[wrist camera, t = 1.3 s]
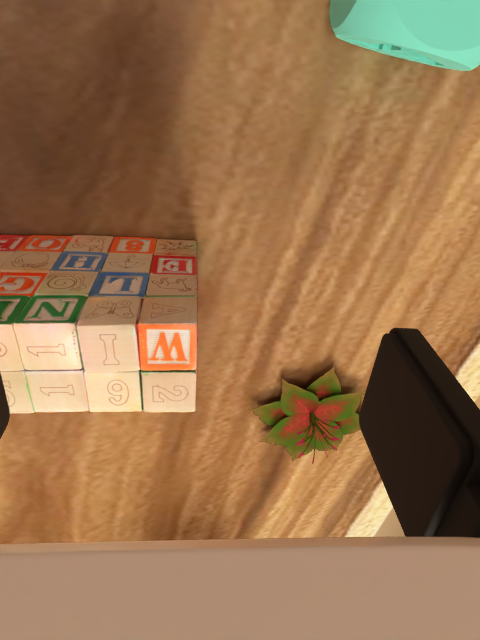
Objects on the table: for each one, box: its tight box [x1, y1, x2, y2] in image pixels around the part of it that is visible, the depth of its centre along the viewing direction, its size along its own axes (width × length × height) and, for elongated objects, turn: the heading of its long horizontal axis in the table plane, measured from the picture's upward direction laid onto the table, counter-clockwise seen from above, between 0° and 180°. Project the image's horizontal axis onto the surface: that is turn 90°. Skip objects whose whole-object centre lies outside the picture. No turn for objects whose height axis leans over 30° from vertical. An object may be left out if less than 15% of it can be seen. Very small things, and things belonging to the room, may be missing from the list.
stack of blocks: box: [0, 235, 198, 413], centre depth 29 cm, size 21×6×12 cm, turn 86°
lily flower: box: [249, 367, 366, 463], centre depth 42 cm, size 12×12×5 cm
